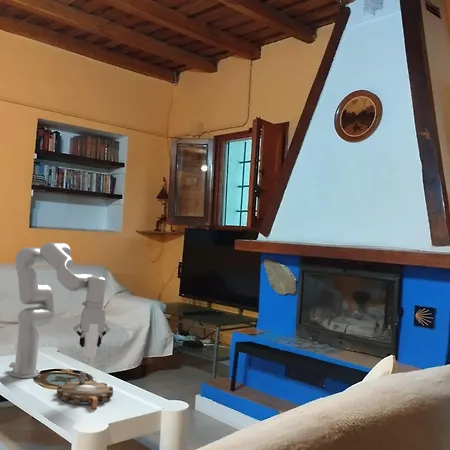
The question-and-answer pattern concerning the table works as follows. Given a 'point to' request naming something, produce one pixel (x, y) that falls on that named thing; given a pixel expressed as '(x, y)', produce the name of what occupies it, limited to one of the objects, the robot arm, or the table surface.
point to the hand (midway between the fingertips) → (90, 345)
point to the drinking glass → (91, 341)
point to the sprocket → (84, 390)
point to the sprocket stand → (86, 402)
